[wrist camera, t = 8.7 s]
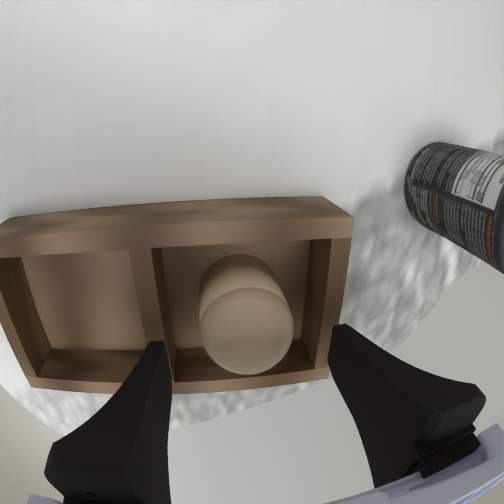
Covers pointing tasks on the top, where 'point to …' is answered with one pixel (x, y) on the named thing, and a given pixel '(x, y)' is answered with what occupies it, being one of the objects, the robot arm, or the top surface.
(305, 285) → the walnut holder
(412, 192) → the pill bottle
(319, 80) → the top surface
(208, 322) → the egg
